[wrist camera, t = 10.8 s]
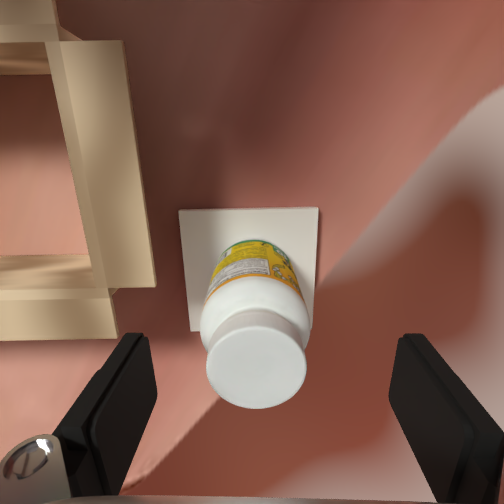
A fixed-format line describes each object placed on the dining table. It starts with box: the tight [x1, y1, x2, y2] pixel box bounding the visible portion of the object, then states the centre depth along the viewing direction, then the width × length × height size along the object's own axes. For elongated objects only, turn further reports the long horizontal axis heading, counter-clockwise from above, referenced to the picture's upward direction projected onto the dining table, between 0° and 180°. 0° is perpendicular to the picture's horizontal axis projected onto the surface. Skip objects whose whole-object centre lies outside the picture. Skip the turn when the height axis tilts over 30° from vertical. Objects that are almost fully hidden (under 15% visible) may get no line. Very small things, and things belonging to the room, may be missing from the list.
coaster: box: [178, 207, 319, 331], centre depth 21 cm, size 9×9×1 cm
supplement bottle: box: [200, 238, 311, 409], centre depth 16 cm, size 5×5×10 cm
